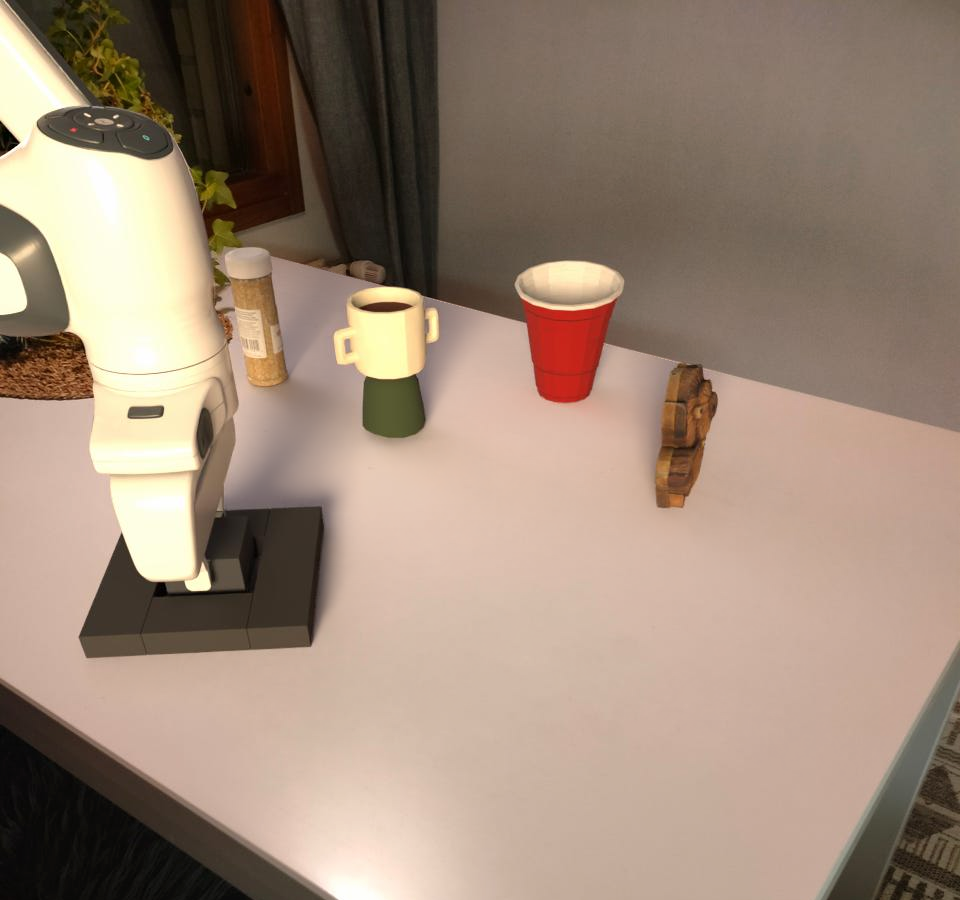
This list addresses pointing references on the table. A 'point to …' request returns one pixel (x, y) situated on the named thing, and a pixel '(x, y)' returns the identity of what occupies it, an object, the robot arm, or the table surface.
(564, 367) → the plastic cup
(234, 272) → the sprinkles bottle
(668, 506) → the wooden carving
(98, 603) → the base pad
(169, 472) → the robot arm
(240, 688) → the table surface
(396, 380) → the character mug
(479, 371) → the table surface
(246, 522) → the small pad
